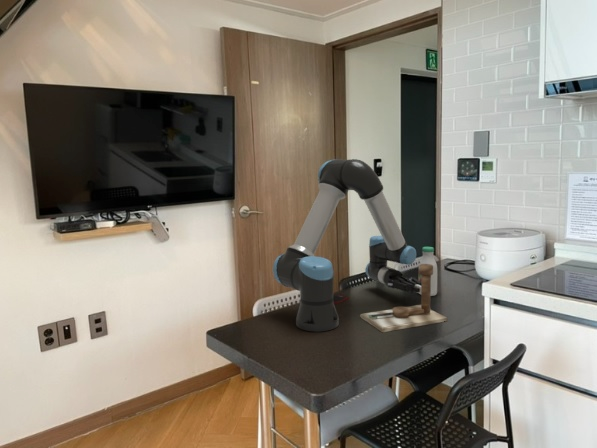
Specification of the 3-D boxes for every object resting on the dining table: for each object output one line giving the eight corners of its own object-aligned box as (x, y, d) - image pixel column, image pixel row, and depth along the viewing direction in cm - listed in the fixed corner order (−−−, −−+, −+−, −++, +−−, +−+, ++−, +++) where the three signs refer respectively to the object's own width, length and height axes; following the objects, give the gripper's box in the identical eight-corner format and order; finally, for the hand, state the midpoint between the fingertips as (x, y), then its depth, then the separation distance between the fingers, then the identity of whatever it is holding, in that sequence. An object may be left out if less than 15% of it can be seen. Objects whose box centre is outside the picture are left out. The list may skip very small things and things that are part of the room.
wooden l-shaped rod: (375, 320, 159) (375, 272, 157) (368, 315, 165) (368, 268, 162) (435, 313, 165) (436, 266, 163) (427, 308, 170) (428, 263, 168)
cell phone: (312, 304, 186) (312, 302, 186) (335, 296, 196) (335, 293, 196) (327, 308, 181) (326, 306, 180) (349, 299, 191) (349, 297, 191)
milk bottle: (435, 291, 198) (435, 245, 195) (438, 296, 190) (439, 249, 187) (416, 291, 199) (417, 245, 196) (419, 296, 191) (420, 249, 188)
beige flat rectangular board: (382, 332, 154) (382, 327, 153) (360, 317, 169) (360, 313, 168) (447, 321, 162) (447, 316, 162) (420, 307, 177) (420, 303, 177)
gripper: (404, 284, 193) (441, 299, 171) (377, 288, 188) (412, 305, 166) (404, 266, 192) (441, 280, 170) (377, 270, 187) (412, 284, 165)
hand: (426, 292), depth 168 cm, fingers closed
